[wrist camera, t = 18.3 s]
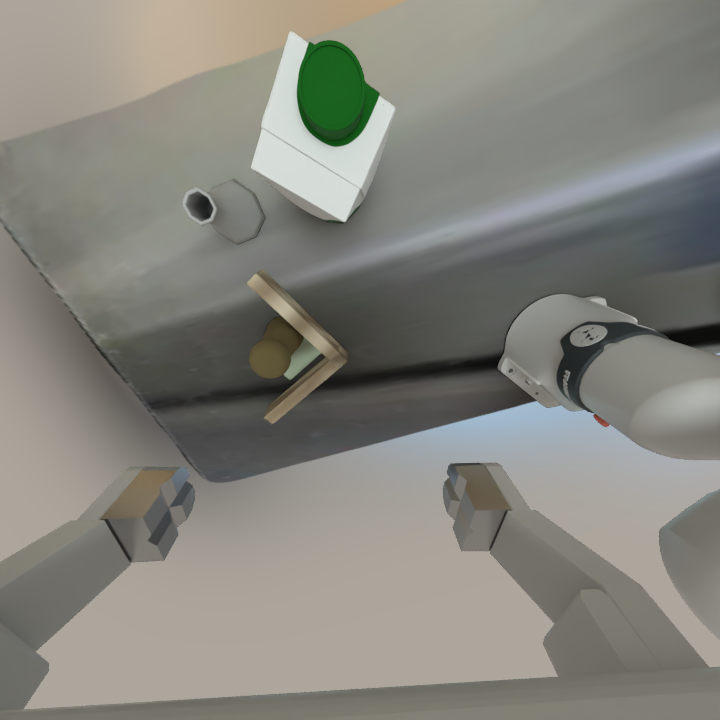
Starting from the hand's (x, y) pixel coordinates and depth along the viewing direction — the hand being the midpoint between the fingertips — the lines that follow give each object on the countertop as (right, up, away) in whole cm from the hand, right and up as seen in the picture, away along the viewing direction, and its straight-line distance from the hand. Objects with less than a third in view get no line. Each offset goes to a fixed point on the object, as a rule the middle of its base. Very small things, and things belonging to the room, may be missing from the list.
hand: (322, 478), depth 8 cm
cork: (-11, +8, +35) cm, 37 cm away
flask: (-15, +23, +27) cm, 39 cm away
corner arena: (-14, +5, +36) cm, 39 cm away
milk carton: (-2, +27, +26) cm, 38 cm away
